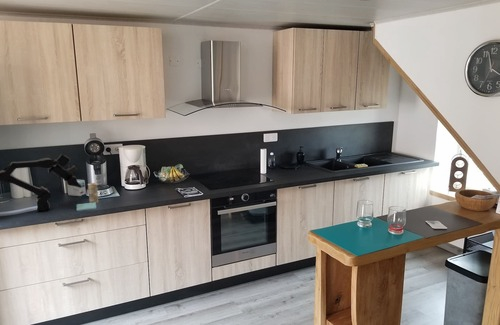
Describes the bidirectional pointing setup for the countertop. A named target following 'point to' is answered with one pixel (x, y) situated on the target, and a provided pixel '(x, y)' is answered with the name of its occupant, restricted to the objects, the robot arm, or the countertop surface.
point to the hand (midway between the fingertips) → (79, 185)
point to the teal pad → (86, 206)
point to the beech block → (93, 192)
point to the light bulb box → (77, 189)
